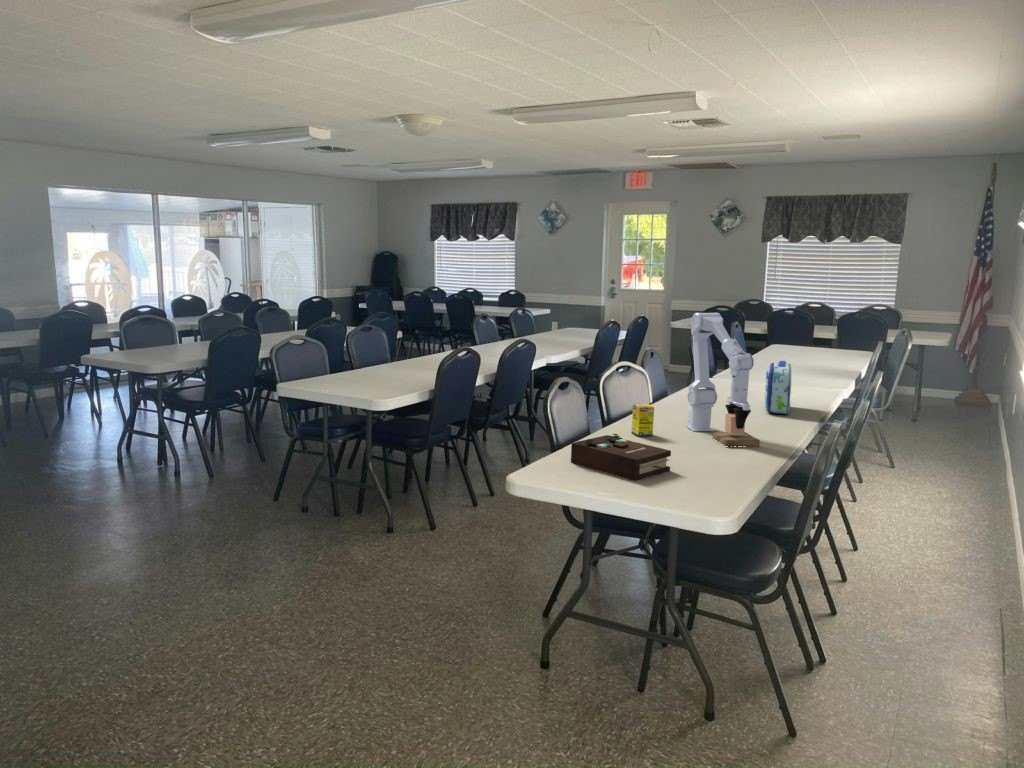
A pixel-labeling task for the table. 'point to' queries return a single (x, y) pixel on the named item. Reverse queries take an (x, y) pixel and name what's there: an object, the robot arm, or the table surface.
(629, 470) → the decorative book
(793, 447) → the table surface
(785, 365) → the lunch box
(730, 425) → the terracotta block
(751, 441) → the walnut block
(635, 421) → the supplement box
